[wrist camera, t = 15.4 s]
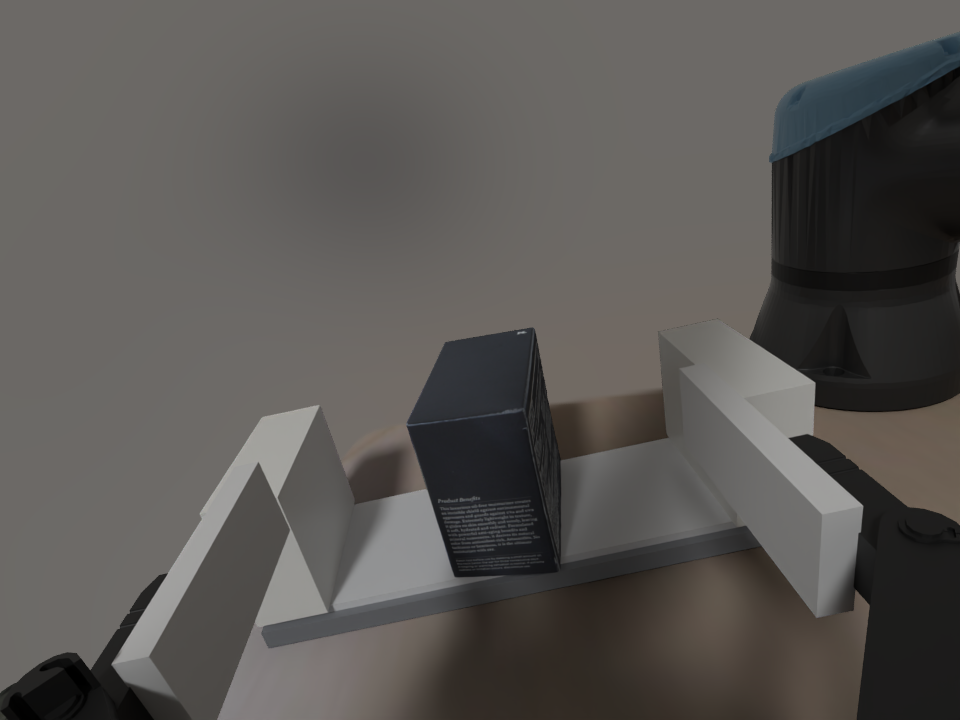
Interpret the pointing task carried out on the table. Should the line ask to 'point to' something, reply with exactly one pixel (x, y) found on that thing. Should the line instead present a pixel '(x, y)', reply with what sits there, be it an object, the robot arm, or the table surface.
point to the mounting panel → (584, 558)
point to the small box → (491, 456)
